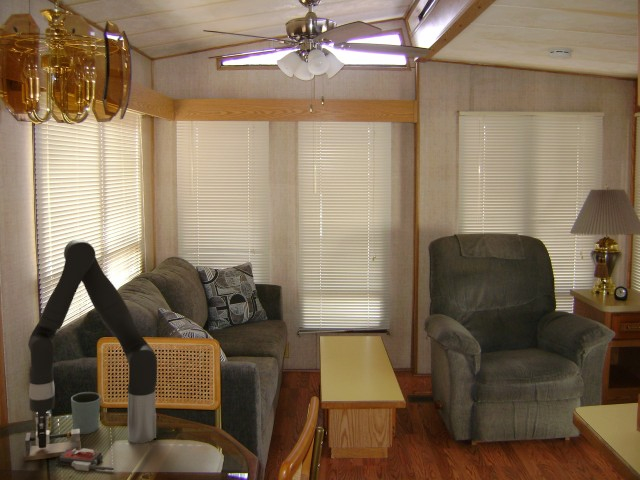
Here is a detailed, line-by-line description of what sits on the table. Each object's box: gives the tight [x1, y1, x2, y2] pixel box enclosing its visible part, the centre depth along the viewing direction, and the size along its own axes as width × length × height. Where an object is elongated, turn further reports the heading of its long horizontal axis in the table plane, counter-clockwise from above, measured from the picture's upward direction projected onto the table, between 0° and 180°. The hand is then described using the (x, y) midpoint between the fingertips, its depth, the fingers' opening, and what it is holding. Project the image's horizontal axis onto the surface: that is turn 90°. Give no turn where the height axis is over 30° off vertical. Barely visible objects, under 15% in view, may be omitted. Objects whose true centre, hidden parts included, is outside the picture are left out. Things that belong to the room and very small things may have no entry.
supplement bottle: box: [47, 410, 52, 434], centre depth 221 cm, size 5×5×8 cm
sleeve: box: [35, 430, 51, 446], centre depth 205 cm, size 4×3×3 cm
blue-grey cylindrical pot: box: [70, 391, 102, 435], centre depth 225 cm, size 10×10×12 cm
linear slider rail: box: [23, 428, 82, 462], centre depth 207 cm, size 17×7×7 cm, turn 111°
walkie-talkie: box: [55, 448, 115, 472], centre depth 200 cm, size 9×4×20 cm
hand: (42, 444), depth 206 cm, fingers closed on sleeve, 3 cm apart
